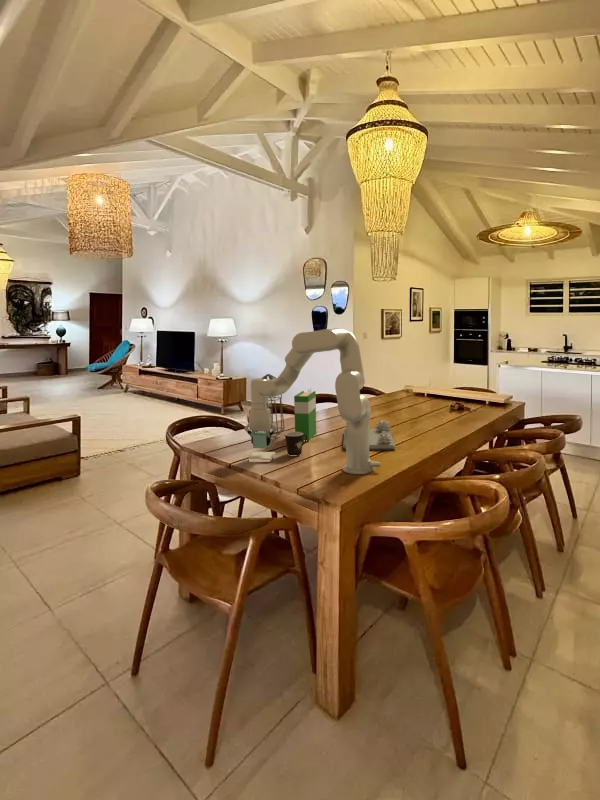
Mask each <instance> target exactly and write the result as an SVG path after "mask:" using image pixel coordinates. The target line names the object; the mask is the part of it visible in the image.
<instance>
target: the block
mask: <svg viewBox="0 0 600 800" xmlns="http://www.w3.org/2000/svg"><path fill="white" fill-rule="evenodd" d="M268 447H269V446H267V434H266V432H264V431H258V432H255V434H253V444H252V448H253V449H267V448H268Z"/></svg>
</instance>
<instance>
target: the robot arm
mask: <svg viewBox="0 0 600 800" xmlns="http://www.w3.org/2000/svg"><path fill="white" fill-rule="evenodd" d="M291 346H292V348H291V349H290V350H289V352H288V353H287V354H286V356H285V357H284V361H285V367H284V369H283V370H282V371H281V373H280V374H279V375H278V377H276V378H274V379H271V380H270V379H267V380H266V379H262V377H261V378H254V379H252V380H251V381H250V399H251V408H250V409H249V417H248V423H247V425H245V426H244V427H243V429H244V431H245V432H246V433H247V434H248V435H249V436H250V438H251V439H250V441H251V444H252V445H253V434H255V433H256V431H258V432H264V431H265V432H266V434H267V446H268V447H269V446H270V445H271V443H272V441H271V440H272V439H271V438H272V437H271V436H273V433H274V432H277V425H275V424H274V422H273V423H272V411H271V408H270V407H271V403H270V401H268V400H269V398H268V397H278V395H279V396H281V394H282V395H283V394H285V393H286V392H288V391H289V389H290V388H292V386H293V384H294V383H295V382H296V380H297V379H298V378H299V375H300V373H301V370H302V369H303V367H304V366H305V365H306V364H307V362H308V361H309V360H310V359H311V358H312V356H313V355H314V353H321V352H331V351H335V350H337V351H339V362H340V367H341V372H340V373H339V374H338V375H337V376H336V379H335V382H334V386H335V387H334V388H335V396H336V401H337V408H338V412H339V414H340V418H341V419H342V420H343V421H345V422H346V424H345V426H346V427H345V429H346V449H345V453H346V454H345V457H346V458H345V459H346V460H345V461H346V464H344V465H342V471H343V472H344V473H346V474H351V475H366V474H370V473H371V472H373V471H374V468H375V467H376V468H380V467H381V462H379V461H377V460H371V457H370V450H369V429H370V421H371V412H372V409H371V408H372V407H371V406H372V405H371V402H370V400H369V399H368V397H367V396H365V395H363V394H361V391H360V390H362V389H363V387H364V386H365V383H366V382H365V381H366V380H365V375H364V368H363V362H362V357H361V349H360V345H359V341H358V339H357V337H356V336H355V335H354V334H353V333H352V332H350V331H348V330H346V329H342V328H337V327H336V328H326V329H325V328H324V329H320V330H319V329H318V330H315V331H314V330H313V331H303V332H299V333H297V334H296V335H294V337H293V339H292V340H291ZM272 428H273V430H272ZM271 430H272V431H271Z"/></svg>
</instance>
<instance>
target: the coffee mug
mask: <svg viewBox="0 0 600 800" xmlns="http://www.w3.org/2000/svg"><path fill="white" fill-rule="evenodd" d="M304 435H305V434H303V433H301V432H295V431H290V432H286V433H284V437H285V445H286V451H287V455H288V454H289V455H300V454H301V453H302V452H303V446H304V445H305V443H307V442H306V440H307V435H305V436H306V440H305V442H303V436H304ZM301 455H302V454H301Z"/></svg>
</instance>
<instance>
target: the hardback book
mask: <svg viewBox="0 0 600 800" xmlns="http://www.w3.org/2000/svg"><path fill="white" fill-rule="evenodd" d="M316 394H317V393H316V391H315V390H314V391H312V392H305V391H304V390H302V391H300V392H299V393H296V394H295V395H294V397H293V400H294V401H293V402H294V404H293V405H294V432H301V433H303V434H305V435H307V441H309V440H310V439H311V438H312V437H313V436H314V435H315V434H316V435H317V404H316V403H317V402H316V399H317V398H316ZM305 435H304V436H303V440H306V436H305ZM316 435H315V436H316ZM315 436H314V437H315ZM314 437H313V438H314ZM313 438H312V439H313ZM312 439H311V440H312ZM311 440H310V441H311Z"/></svg>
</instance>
